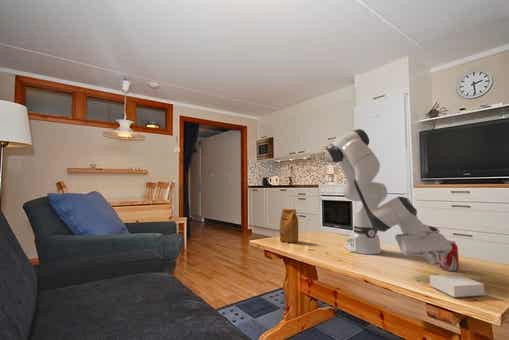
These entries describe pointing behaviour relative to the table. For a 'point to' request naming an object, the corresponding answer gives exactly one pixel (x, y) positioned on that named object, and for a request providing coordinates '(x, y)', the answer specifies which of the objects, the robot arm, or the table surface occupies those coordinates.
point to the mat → (450, 295)
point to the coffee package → (289, 226)
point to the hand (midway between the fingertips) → (436, 263)
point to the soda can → (450, 259)
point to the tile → (457, 285)
